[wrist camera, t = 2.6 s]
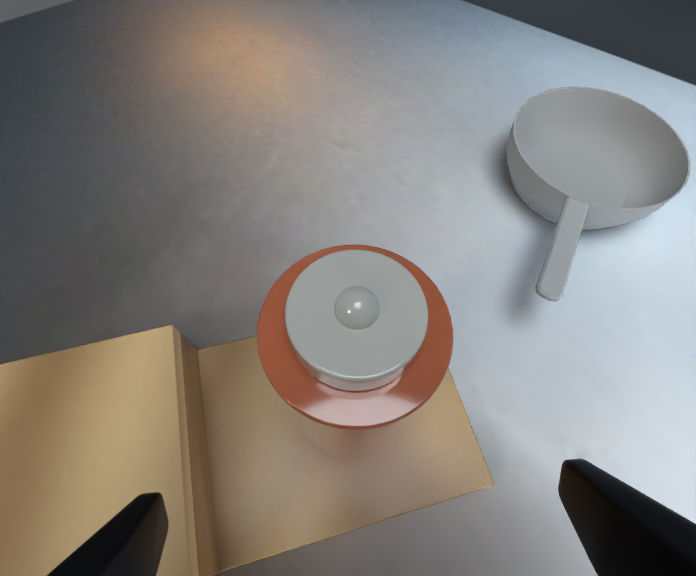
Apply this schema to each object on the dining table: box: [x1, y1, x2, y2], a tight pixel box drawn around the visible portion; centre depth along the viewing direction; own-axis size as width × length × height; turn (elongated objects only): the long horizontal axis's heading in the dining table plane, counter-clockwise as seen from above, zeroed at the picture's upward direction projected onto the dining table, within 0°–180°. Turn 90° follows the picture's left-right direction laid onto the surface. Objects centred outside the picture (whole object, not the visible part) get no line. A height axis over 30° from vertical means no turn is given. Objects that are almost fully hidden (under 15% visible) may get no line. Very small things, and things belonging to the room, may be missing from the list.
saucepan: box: [506, 87, 690, 301], centre depth 24 cm, size 11×18×4 cm, turn 151°
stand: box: [0, 325, 494, 576], centre depth 17 cm, size 24×10×4 cm, turn 105°
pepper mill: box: [257, 245, 453, 462], centre depth 14 cm, size 5×5×12 cm
